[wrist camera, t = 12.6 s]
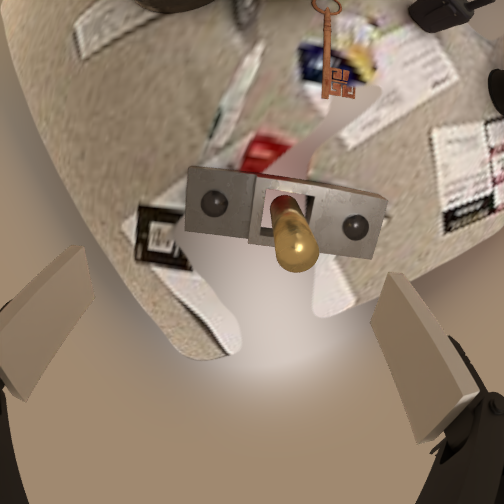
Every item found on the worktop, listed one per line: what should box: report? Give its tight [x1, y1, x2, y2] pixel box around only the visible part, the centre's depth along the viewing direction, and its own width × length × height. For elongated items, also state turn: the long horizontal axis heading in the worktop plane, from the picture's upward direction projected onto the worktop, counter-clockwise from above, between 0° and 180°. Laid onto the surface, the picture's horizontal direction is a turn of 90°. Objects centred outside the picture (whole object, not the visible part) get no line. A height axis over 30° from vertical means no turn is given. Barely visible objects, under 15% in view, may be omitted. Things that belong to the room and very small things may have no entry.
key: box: [312, 0, 356, 99], centre depth 26 cm, size 6×1×15 cm
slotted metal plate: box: [185, 166, 388, 260], centre depth 33 cm, size 8×24×4 cm, turn 83°
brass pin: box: [270, 195, 319, 273], centre depth 29 cm, size 4×4×13 cm
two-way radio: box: [409, 0, 495, 33], centre depth 16 cm, size 6×4×15 cm
